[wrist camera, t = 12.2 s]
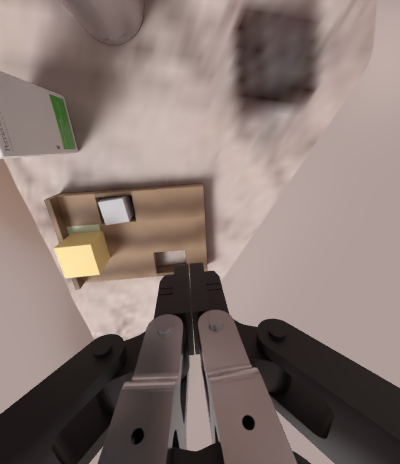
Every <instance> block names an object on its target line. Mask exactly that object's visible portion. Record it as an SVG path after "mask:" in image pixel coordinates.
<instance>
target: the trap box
mask: <svg viewBox="0 0 400 464" xmlns="http://www.w3.org/2000/svg"><path fill="white" fill-rule="evenodd" d="M123 195H132V200H133V205H134V211H135V216H136V217H132V218H131V220H130V221H129V222H123V223H117V224H111V225H105V222H104V219H103V216H102V213H101V210H100V207H99V204H98V202H99V201H100V200H102V199H101V197H109V196H123ZM44 201H45V204H46V207H47V210H48V212H49V215H50V218H51V221H52V224H53V227H54V230H55V232H56V235H57V238H58V241H59V243H61V242H62V241H63V240H64V239H65V238H67V237H68V236H69V235H70V234H74V233H84V232H94V231H103V233H104V237H105V241H106V244H107V248H108V251H109V255H110V259H109V261H108V262H107V264H106V266H105V267H104V269H103V270H102V272H101V274H100V275H93V276H83V277H74V278H72V281H73V284H74V287H75V290H77V289H80V288H81V287H82V286H83V284H84V283H87V282H98V281H109V280H120V279H132V278H143V277H154V276H165V275H171V274H174V265H173V266H161V267H158V264H157V257H156V252H166V251H178V250H185V253H186V263H187V264H188V266H189V263H199V262H203V266H204V272H205V271H207V251H206V231H205V211H204V191H203V184H202V183H201V184H187V185H172V186H158V187H144V188H130V189H116V190H102V191H87V192H73V193H59V194H57V195H55V196H53V197H50V198H48V199H46V200H44ZM189 273H190V266H189Z"/></svg>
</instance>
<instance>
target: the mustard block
mask: <svg viewBox="0 0 400 464" xmlns="http://www.w3.org/2000/svg"><path fill="white" fill-rule="evenodd" d="M54 250H55V253H56V255H57V258H58V261H59V263H60V266H61V268H62V271H63V273H64V276H65V278H74V277H83V276H93V275H100V274H101V272H102V270H103V269H104V267H105V266H106V264H107V262H108V261H109V259H110V255H109V251H108V248H107V244H106V241H105V237H104V233H103V231H94V232H84V233H74V234H70V235H69V236H68V237H67V238H65V239H64V240H63V241H62V242H61V243H59V244H58V245H57V246H56V247H55V248H54Z"/></svg>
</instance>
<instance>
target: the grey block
mask: <svg viewBox="0 0 400 464" xmlns="http://www.w3.org/2000/svg"><path fill="white" fill-rule="evenodd" d="M98 204H99V207H100V210H101V213H102V216H103V219H104V222H105V225H111V224H117V223H123V222H129V221H130V220H131V218H132V217H133V215H134V212H133V208H132V205H131V201H130V198H129V195H123V196H109V197H105V198H103V199H102V200H100V201H99V202H98Z"/></svg>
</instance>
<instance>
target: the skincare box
mask: <svg viewBox="0 0 400 464" xmlns="http://www.w3.org/2000/svg"><path fill="white" fill-rule="evenodd" d="M77 152H78V149H77V145H76V141H75V136H74V133H73V129H72V125H71V121H70V118H69V114H68V110H67V106H66V101H65V98H64V96H63V95H60V94H57V93H55V92H52V91H50V90H47V89H45V88H42V87H40V86H37V85H35V84H32V83H29V82H27V81H24V80H22V79H19V78H17V77H14V76H11V75H9V74H6V73H4V72H1V71H0V159H4V158H19V157H35V156H47V155H59V154H69V153H77Z"/></svg>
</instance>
